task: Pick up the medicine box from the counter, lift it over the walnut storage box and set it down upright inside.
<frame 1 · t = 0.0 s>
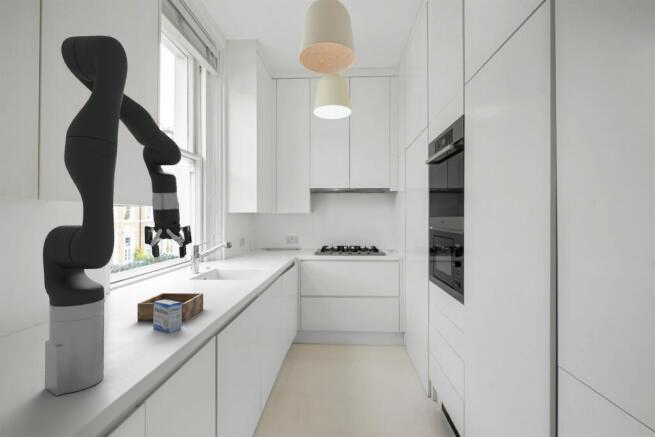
hand: (169, 257, 105), 22 cm above the worktop, tool pointing down, fingers open, 8 cm apart
storage box: (172, 314, 118), on the worktop
medicine box: (167, 329, 103), on the worktop
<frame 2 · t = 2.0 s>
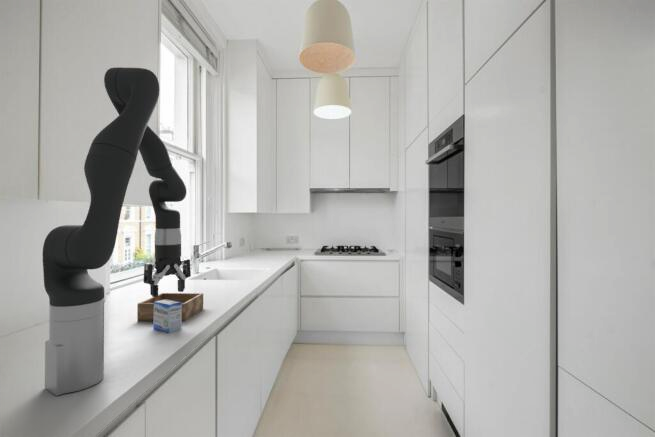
hand: (168, 294, 103), 11 cm above the worktop, tool pointing down, fingers open, 8 cm apart
nothing on the worktop moved.
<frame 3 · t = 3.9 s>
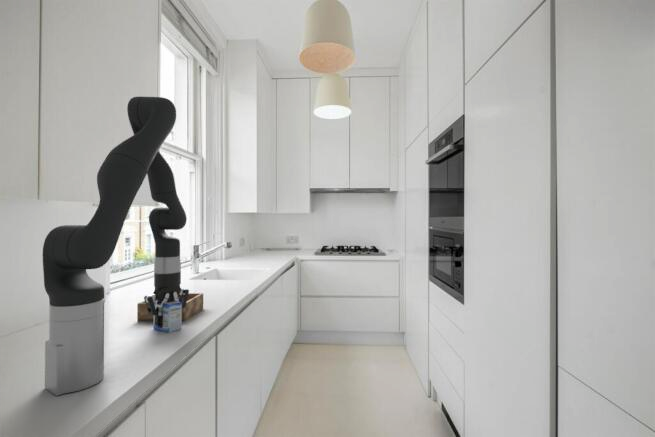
hand: (167, 324, 103), 1 cm above the worktop, tool pointing down, fingers closed on medicine box, 4 cm apart
medicine box: (167, 329, 103), on the worktop, touching gripper
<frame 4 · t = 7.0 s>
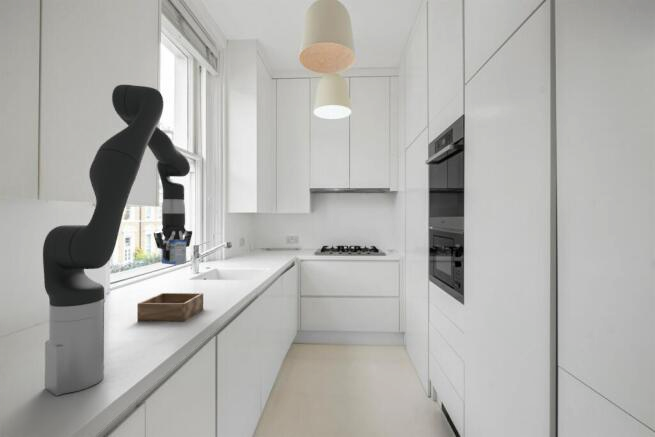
hand: (173, 259, 118), 20 cm above the worktop, tool pointing down, fingers closed on medicine box, 4 cm apart
medicine box: (173, 264, 118), point 18 cm above the worktop, touching gripper
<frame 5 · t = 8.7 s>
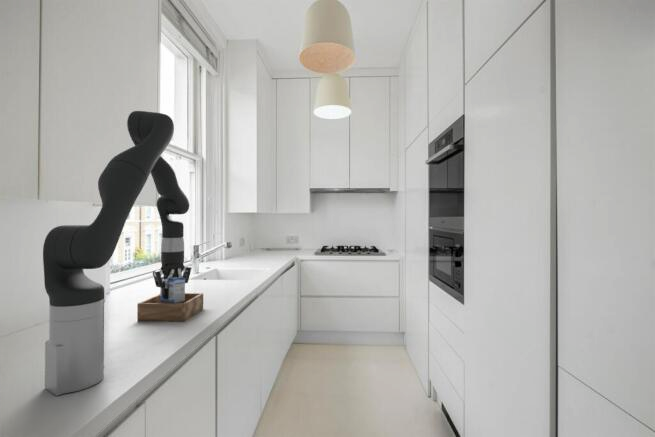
hand: (172, 297, 118), 6 cm above the worktop, tool pointing down, fingers closed on medicine box, 4 cm apart
medicine box: (172, 301, 118), point 5 cm above the worktop, touching gripper
when the fingers open (4 cm above the worktop, at t = 10.1 s): medicine box drops 1 cm, resting on storage box.
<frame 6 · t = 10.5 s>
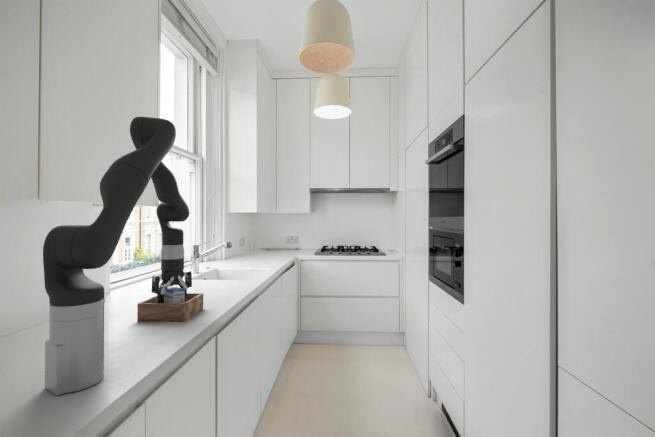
hand: (172, 302, 118), 5 cm above the worktop, tool pointing down, fingers open, 8 cm apart
medicine box: (172, 312, 118), point 1 cm above the worktop, touching storage box
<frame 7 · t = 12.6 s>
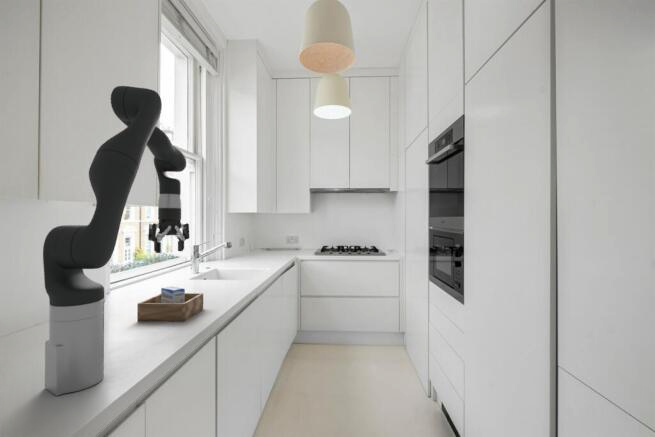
hand: (169, 252, 118), 23 cm above the worktop, tool pointing down, fingers open, 8 cm apart
nothing on the worktop moved.
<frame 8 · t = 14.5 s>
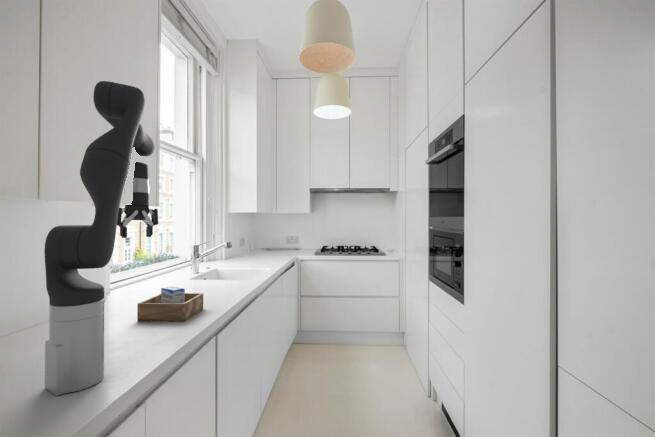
hand: (136, 237, 116), 28 cm above the worktop, tool pointing down, fingers open, 8 cm apart
nothing on the worktop moved.
at the end: medicine box inside the target area on the storage box (0.0 cm from its centre), point 0.8 cm above the storage box's base; medicine box tilted 0°; the gripper is holding nothing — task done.
